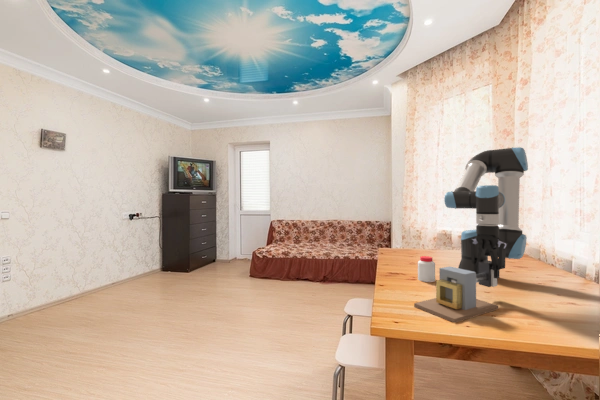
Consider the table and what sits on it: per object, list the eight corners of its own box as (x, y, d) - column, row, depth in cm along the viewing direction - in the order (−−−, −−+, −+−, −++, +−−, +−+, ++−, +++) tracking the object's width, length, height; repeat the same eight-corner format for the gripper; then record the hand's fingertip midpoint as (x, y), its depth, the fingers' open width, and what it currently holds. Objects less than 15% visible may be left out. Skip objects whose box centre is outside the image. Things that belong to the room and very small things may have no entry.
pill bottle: (437, 282, 138) (436, 259, 138) (419, 281, 139) (419, 258, 139) (433, 278, 145) (432, 255, 145) (416, 277, 147) (416, 255, 147)
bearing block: (456, 295, 119) (456, 262, 119) (498, 309, 104) (498, 271, 104) (414, 306, 108) (413, 269, 108) (454, 322, 94) (454, 280, 93)
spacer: (441, 300, 109) (441, 279, 109) (462, 308, 102) (462, 284, 102) (436, 302, 107) (436, 280, 107) (456, 309, 100) (456, 285, 100)
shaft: (486, 282, 118) (486, 260, 118) (496, 285, 114) (496, 262, 114) (447, 291, 107) (447, 267, 107) (457, 294, 104) (457, 269, 103)
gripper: (460, 223, 121) (461, 280, 121) (505, 227, 105) (505, 292, 106) (472, 222, 124) (472, 278, 124) (517, 226, 109) (517, 289, 109)
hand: (487, 284), depth 115 cm, fingers closed on shaft, 4 cm apart
